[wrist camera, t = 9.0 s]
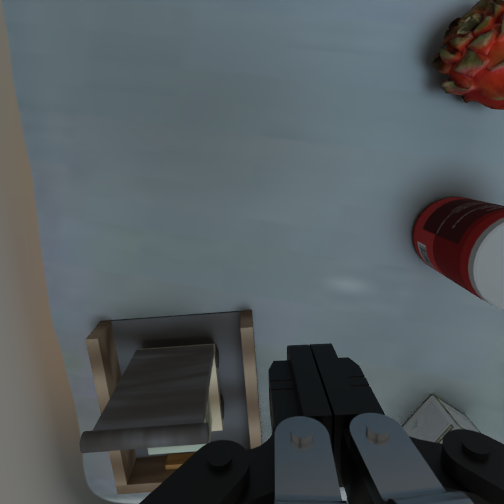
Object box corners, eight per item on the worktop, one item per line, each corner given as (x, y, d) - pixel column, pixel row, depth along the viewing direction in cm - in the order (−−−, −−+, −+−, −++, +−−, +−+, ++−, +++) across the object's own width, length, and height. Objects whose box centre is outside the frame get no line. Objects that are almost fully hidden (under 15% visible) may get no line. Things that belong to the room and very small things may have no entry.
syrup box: (400, 427, 45) (471, 553, 31) (432, 391, 43) (522, 506, 29) (435, 448, 46) (520, 580, 32) (468, 413, 44) (572, 535, 30)
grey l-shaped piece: (136, 339, 40) (78, 441, 26) (219, 332, 40) (205, 432, 26) (150, 421, 43) (104, 554, 29) (227, 416, 43) (219, 546, 29)
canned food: (463, 278, 40) (542, 325, 29) (396, 254, 39) (453, 292, 28) (499, 212, 38) (598, 236, 27) (430, 184, 37) (505, 198, 26)
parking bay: (100, 321, 40) (85, 339, 36) (251, 310, 40) (252, 327, 36) (128, 464, 45) (117, 494, 41) (262, 455, 45) (264, 483, 41)
